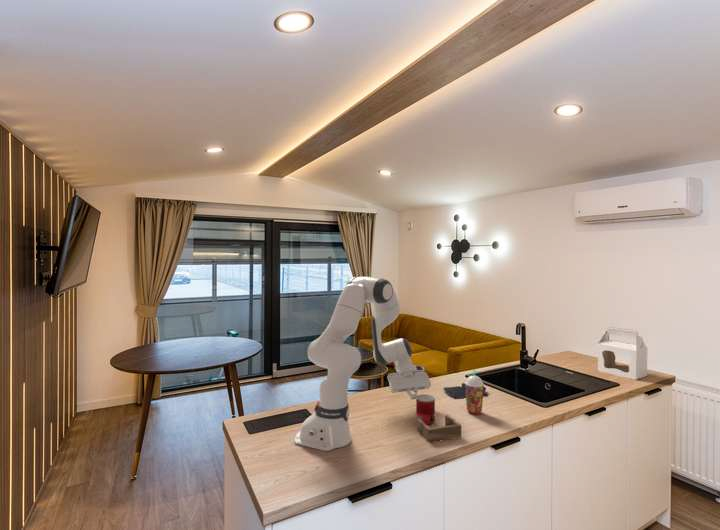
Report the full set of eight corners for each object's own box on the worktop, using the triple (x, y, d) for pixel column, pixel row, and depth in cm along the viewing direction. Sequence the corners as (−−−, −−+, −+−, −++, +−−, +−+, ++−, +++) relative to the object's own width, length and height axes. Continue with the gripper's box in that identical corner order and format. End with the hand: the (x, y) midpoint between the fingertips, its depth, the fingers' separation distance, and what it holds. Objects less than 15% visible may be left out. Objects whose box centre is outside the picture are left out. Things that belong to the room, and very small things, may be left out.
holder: (416, 430, 160) (416, 418, 160) (447, 426, 164) (447, 414, 164) (428, 442, 149) (428, 430, 149) (461, 437, 154) (461, 425, 154)
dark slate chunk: (439, 390, 209) (439, 382, 209) (475, 387, 214) (475, 378, 214) (453, 401, 194) (453, 391, 194) (491, 396, 200) (491, 387, 199)
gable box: (597, 370, 243) (597, 326, 243) (608, 367, 250) (608, 325, 249) (636, 380, 224) (637, 332, 223) (647, 377, 231) (648, 330, 230)
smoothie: (461, 410, 181) (461, 368, 180) (475, 408, 184) (476, 366, 183) (472, 417, 173) (472, 373, 172) (487, 414, 176) (487, 371, 175)
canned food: (434, 426, 163) (434, 401, 163) (415, 425, 165) (415, 399, 165) (434, 419, 171) (434, 394, 171) (416, 417, 173) (416, 393, 172)
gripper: (387, 370, 182) (395, 398, 173) (426, 366, 188) (436, 393, 179) (384, 377, 187) (392, 404, 178) (422, 373, 193) (431, 399, 184)
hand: (414, 398), depth 179 cm, fingers closed
